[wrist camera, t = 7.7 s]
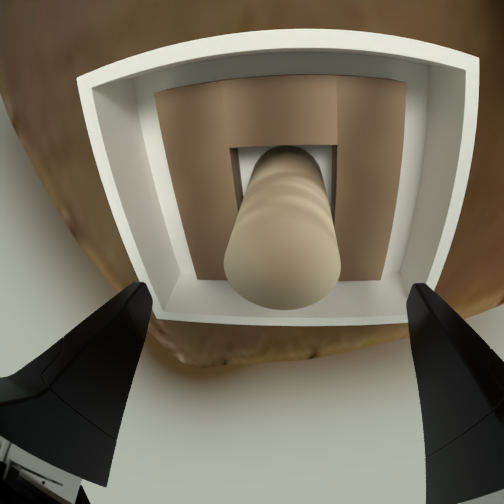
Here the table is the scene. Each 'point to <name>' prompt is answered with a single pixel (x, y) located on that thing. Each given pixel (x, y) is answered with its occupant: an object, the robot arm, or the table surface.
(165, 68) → the open box
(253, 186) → the peg
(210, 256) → the bore plate
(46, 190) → the table surface
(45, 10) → the table surface
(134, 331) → the robot arm
